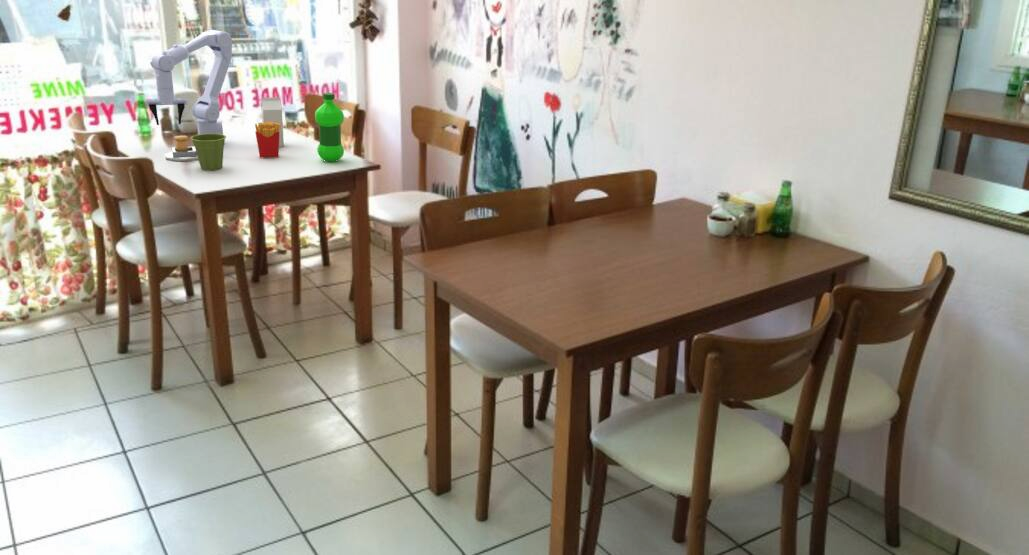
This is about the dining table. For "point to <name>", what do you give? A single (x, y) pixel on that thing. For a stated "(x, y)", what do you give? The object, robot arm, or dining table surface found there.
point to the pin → (181, 143)
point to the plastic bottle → (329, 129)
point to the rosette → (182, 155)
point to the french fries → (268, 139)
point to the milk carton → (273, 114)
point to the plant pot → (209, 150)
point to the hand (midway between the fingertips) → (168, 124)
